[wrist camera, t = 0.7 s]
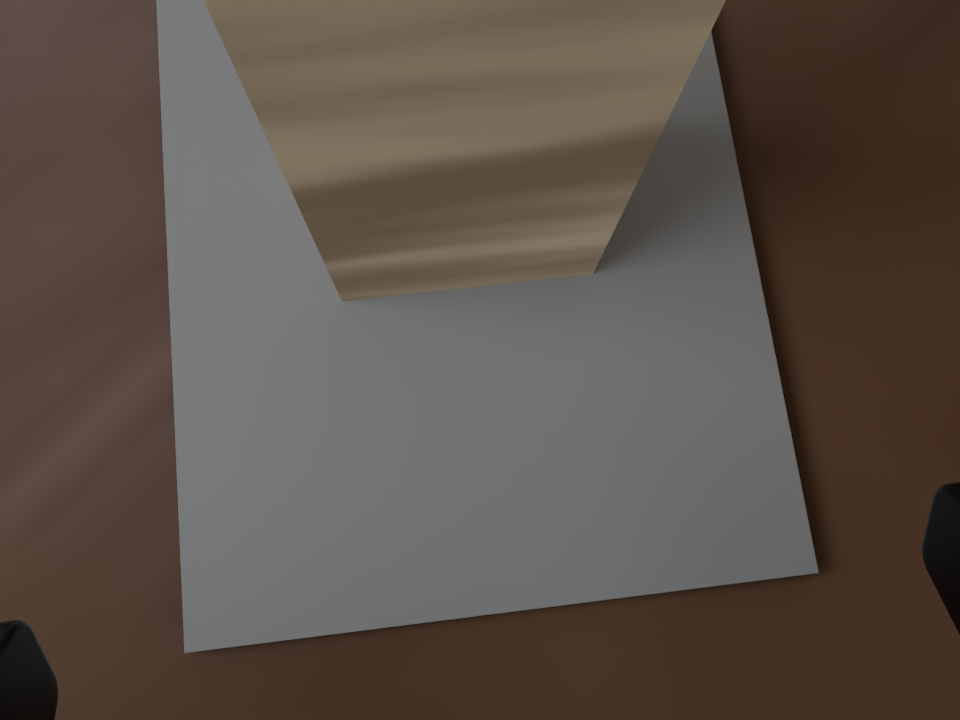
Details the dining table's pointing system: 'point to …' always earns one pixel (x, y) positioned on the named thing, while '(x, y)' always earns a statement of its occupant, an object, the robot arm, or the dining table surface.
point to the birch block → (461, 127)
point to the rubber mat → (461, 396)
